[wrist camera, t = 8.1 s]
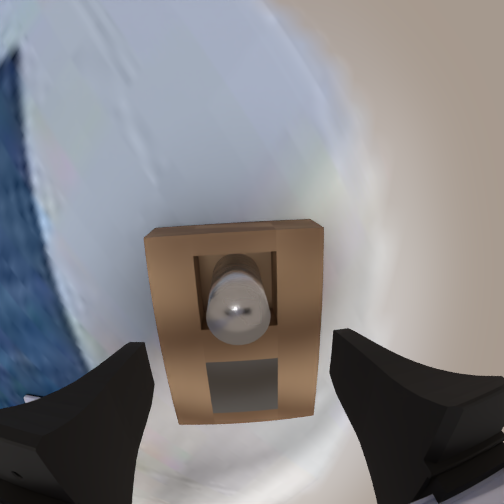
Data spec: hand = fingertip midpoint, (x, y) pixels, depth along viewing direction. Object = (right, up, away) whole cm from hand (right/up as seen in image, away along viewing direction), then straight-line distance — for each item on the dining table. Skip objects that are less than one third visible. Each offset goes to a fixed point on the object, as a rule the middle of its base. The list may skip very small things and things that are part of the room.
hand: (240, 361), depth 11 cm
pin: (-1, +3, +9) cm, 9 cm away
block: (0, -1, +10) cm, 11 cm away
